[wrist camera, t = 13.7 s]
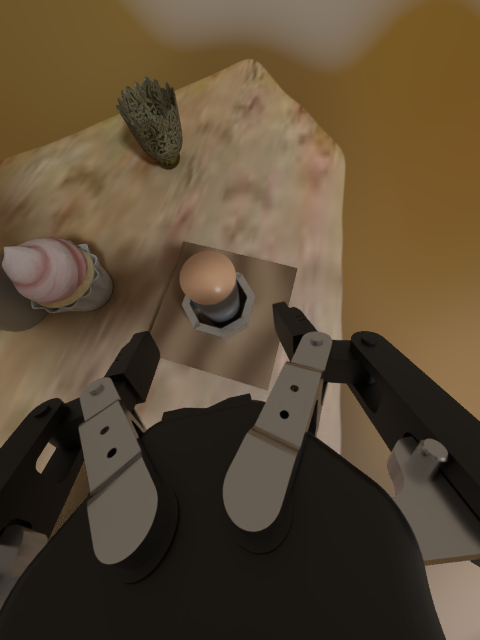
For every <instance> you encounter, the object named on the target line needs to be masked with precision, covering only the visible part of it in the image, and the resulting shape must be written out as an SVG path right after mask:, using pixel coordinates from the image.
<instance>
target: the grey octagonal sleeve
mask: <svg viewBox="0 0 480 640" xmlns="http://www.w3.org/2000/svg"><path fill="white" fill-rule="evenodd" d="M236 279H237V287H238V291H239V292H240V294H241V296H242V297H243V299H244V301H245V302H246V303H245V306H244V310H243V313H242V317H241V318H240V319H238V320H236V321H234V322H232V323H231V324H229V325H227V326H225V327H223V328H222V329H220V328H216V327H213V326H209V325H206V324H204V323H203V321H202V319H201V318H200V316H199V314H198V309H199V308H198V307H197V306H196V305H195V304H194V303H193V302H192V301H191V300H190V299H189V298H188V297H187V296H186V295H185V297H184V300H183V303H182V306H183V308H184V310H185V312H186V314H187V316H188V318H189V320H190V322H191V324H192V326H193V328H194V329H195V330H196V331H198V332H199V333H201V334H204V335H208V336H211V337H215V338H218V339H222V340H225V341H226V340H228V339H229V338H231V337H233V336H235V335H237V334H238V333H240V332H242V331H244V330H246V329H248V325H249V322H250V318H251V315H252V311H253V308H254V303H255V295H254V293H253V291H252V290H251V288H250V287H249V285H248V283H247V282H246V280H245V278H244V277H243V275H242V273H239V272H236Z"/></svg>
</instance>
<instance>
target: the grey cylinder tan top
mask: <svg viewBox="0 0 480 640" xmlns="http://www.w3.org/2000/svg"><path fill="white" fill-rule="evenodd" d="M180 285H181V288H182V290H183V292H184V293H185V294H186V296H187V297H188V298H189V299H190V300H191V301H192V302H193V303H194V304H195V305H196V306H197V307H198V308H199V309H200V310H201V311H202V312H203V313H204V315H205V316H206V317H207V318H208V319H209V320H210V321H211V322H212V323H214V324H215V325H218V326H227V325H229V324H231V323H232V322H234V321H236V320H237V319H238V317H239V315H240V301H239V294H238V287H237V279H236V272H235V268H234V266H233V264H232V262H231V261H230V260H229V259H228V258H227V257H226V256H225V255H223V254H221V253H219V252H216V251H202V252H199V253H197V254H194V255H193V256H191V257H190V258H189V259H188V260H187V261H186V262H185V263H184V265H183V267H182V269H181V272H180Z"/></svg>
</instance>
